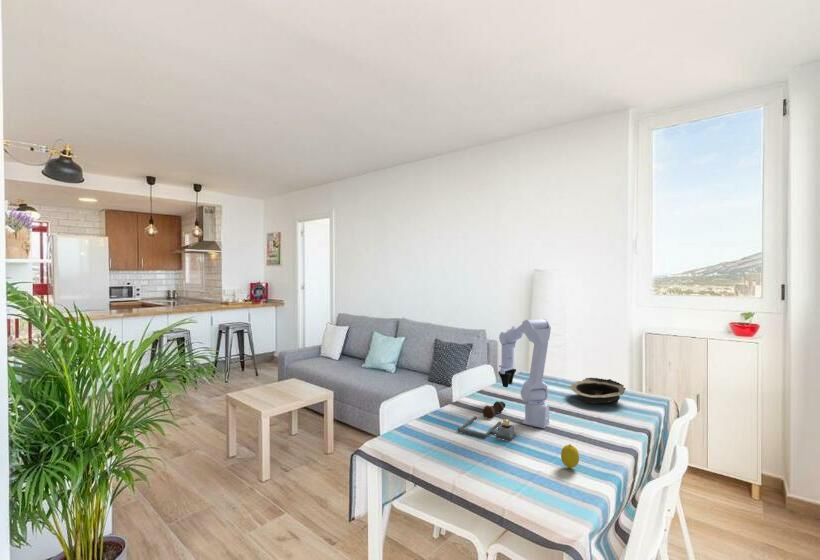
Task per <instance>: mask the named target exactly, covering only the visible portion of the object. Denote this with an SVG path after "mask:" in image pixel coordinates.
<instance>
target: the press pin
mask: <svg viewBox="0 0 820 560" xmlns="http://www.w3.org/2000/svg"><path fill="white" fill-rule="evenodd" d="M502 423H503V427H504V428H509V424H510V419H508V418H503V419H502Z"/></svg>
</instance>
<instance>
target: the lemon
mask: <svg viewBox="0 0 820 560" xmlns="http://www.w3.org/2000/svg"><path fill="white" fill-rule="evenodd" d="M560 458H561V461H562V463H563V465H564V466H565V467H567V468H568V469H569V470H570V469H573V468H575V467H577V466H578V464H579V462H580V454H579V451H578V449H577V448H576V447H575V446H574V445H572V444H571V443H570V444H566V445H564V446H563V447H562V448H561V452H560Z"/></svg>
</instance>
